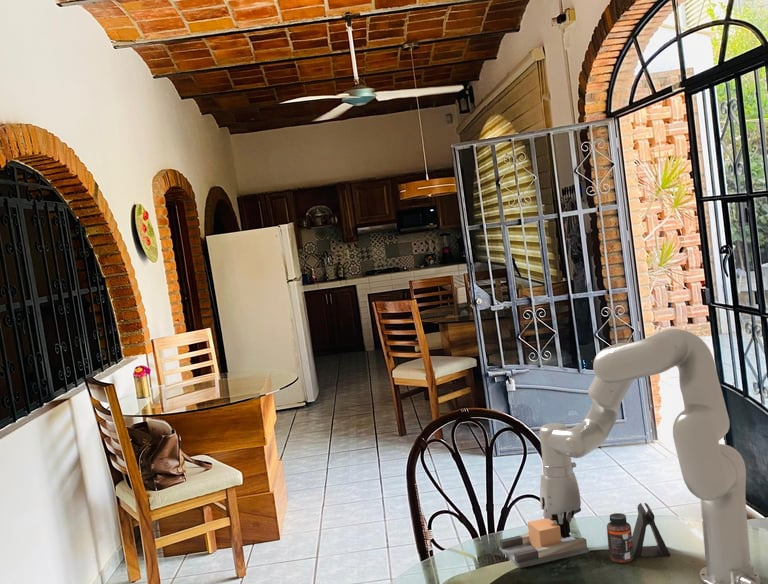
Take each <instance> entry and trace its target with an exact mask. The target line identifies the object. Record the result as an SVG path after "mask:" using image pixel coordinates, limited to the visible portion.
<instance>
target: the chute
mask: <svg viewBox="0 0 768 584" xmlns="http://www.w3.org/2000/svg"><path fill="white" fill-rule="evenodd" d="M498 549H499V551H500V552H502V553H503V555H505V556H506V558H508V559H509V560H510V561H511V562H512V563H513V564H514V565H515V566H516V567H517V568H518V569H522V568H526V567H530V566H531V567H532V566H534V565H535V566H536V565H539V564H543V563H547V562H551V561H552V562H553V561H556V560H560V559H564V558H569V557H573V556H578V555H581V554H586V553H589V552H590V549H589V547H588V543H587V538H585V537H579V538H575V537H574V536H572V535H571V534H570V537H566V538H563V537H562V536H561V543H557V544H553V545H548V546H544V547H539V548H535V547H533V546H532V545H531V544H530V539H529V532H528V533H525V534H521V535H520V534H519V535H516V536H511V537H506V538H503V539H502V538H501V539H499V545H498Z"/></svg>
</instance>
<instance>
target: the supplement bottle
mask: <svg viewBox="0 0 768 584" xmlns="http://www.w3.org/2000/svg"><path fill="white" fill-rule="evenodd" d="M606 534H607V545H608V546H607V547H608V555H609V559H610V560H611V561H613V562H614V563H618V564H627V563H630V562H632V561H633V560H634V559H635V558H634V556H633V555H634V554H633V543H632V535H633V532H632V527H631V524H630V523H629V522H627V515H626V514H624V513H618V512H615V513H611V514H609V522H608V523H607V524H606Z"/></svg>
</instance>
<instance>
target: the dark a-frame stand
mask: <svg viewBox="0 0 768 584" xmlns="http://www.w3.org/2000/svg"><path fill="white" fill-rule="evenodd" d="M644 506H645V508H646V509H647V511H646V509H645V508H644ZM636 508H637V517H636V522H635V525H634V528H633V532H632V543H633V554H634V555H633V556H634V558H633V559H646V558H647V559H648V558H665V557H667V558H668V557H671V554H670V551H669V549H668V547H667V546H666V544H665V541H664V539H663V536H662V535H661V533H660V531H659V528H658V526H657V525H656V523H655V514H654V512H653V511H652V509H651V507H650V506H649V504H648V503H646V502H644V505H643V504H642V502H641V503H639V504H637V507H636ZM647 526H649V527H650V530H651V532H652V535H653V537H654V539H655V543H656V545H647V546H644V540H645V536H646V530H647Z"/></svg>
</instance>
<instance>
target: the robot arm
mask: <svg viewBox="0 0 768 584" xmlns="http://www.w3.org/2000/svg"><path fill="white" fill-rule="evenodd" d="M592 364H593V372H594V375H595V376H594V378H593V379H592V381H591V383H590V385H589V387H588V389H587V394H588V396H589V398H590V399H591V400H592V404H591V406H590V409H589V410H588V413H587V414H586V416H585V418H584V419H583V421H582V422H580V423H578V424H577V425H575V426H573V427H569V428H568V427H567V425H566V424H564V423H561V422H549V423H546V424H543V425H541V427H540V428H539V440H540V449H541V458H542V459H541V460H542V466H543V467H542V468H543V469H542V470H543V474H542V475H540V482H539V484H540V485H539V501H540V502H539V503H540V509H541V510H543V514H542V517H543V519H544V518H546V519H550V520H554V521H555V522H556V524H557V525H558V526H560V532H561V536H562V537H563V538H566V537H570V535H571V522H572V519H573V517H574V515H575V514H578V513H580V512H582V507H581V505H582V503H581V502H582V500H581V493H580V487H579V483H578V480H577V476H576V474H575V472H574V470H573V469H574V468H576V467H577V463H576V462H575V461H574V462H572V458H573V459H578V458H579V459H581V458H583V457H585V456H587V455H588V454H590V453H591V452H593V451H594V450H596V449H597V448H599V447H600V446H602V445H603V444H604V442H605V441H606V440H607V439H608V436H609V435H610V433H611V431H612V430H613V427H614V425H616V422H617V419H618V417H619V411H620V407H621V406H620V405H621V404H622V402H623V400H624V398H625V396H626V395H627V393H628V391H629V389H630V387H631V385H632V383H633V382H634V381H635V380H637V379H643V378H646V377H647V378H648V377H651V376H655V375H659V374H662V373H665V372H666V371H667V372H668V371H669V370H670V369H672V368H674V367H677V369H678V377H679V388H680V392H681V395H682V396H681V397H682V400H683V406H684V409H683V410H682V411H681V412H680V413H679V414H678V415H677V416H676V417H675V419H674V422H673V425H672V437H673V443H674V446H675V450H676V454H677V459H678V463H679V467H680V470H681V475H682V480H683V481H684V484H685V487H687V490H688V491H689V492H690V493H691V494H692V495H693V496H695V497H696V498H698V499H700V511H701V514H700V515H701V523H702V533H703V545H704V546H703V547H704V559H705V566H704V567H702V568H701V569H700V571H699V578H700V581H701V580H702V581H703V582H704V583H706V584H761V582H762V579H761V578H760V575H759V573H757V572H756V571H755V570H754V566H753V565H752V561H751V551H750V538H749V528H748V518H747V517H748V516H747V515H748V514H747V502H746V487H747V486H746V484H747V483H746V482H747V469H746V463H745V460H744V458H743V456H742V455H741V453H740V452H739V451H738V450H737V449H736V448H734V447H732V446H731V445H727V444H724V443H723V444H722V443H720V441H721V440H722V439H724V437H725V436H726V434H727V433H728V432H729V431H730V417H729V414H728V410H727V406H726V402H725V398H724V394H723V390H722V387H721V383H720V380H719V376H718V371H717V368H716V367H717V366H716V364H715V360H714V357H713V354H712V352H711V349H710V348H709V346H708V345H707V344H706V343H705V341H704V340H703V339H702V338H700V337H699V335H696V334H695V333H693V332H691V331H688V330H684V329H681V328H680V329H679V328H671V329H666V330H662V331H660V332H657V333H656V334H654V335H653V334H652V335H651V336H649V337H647V338H643V339H639V340H636V341H633V342H630V343H629V342H619V343H618V342H617V343H615V344H613V345H610V346H607V347H605V348H603V349H602V350H600V351H599V352H598V353H597V354H596V355H595V357H594V359H593V363H592ZM702 581H701V582H702ZM703 582H702V583H703ZM704 583H703V584H704Z"/></svg>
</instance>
